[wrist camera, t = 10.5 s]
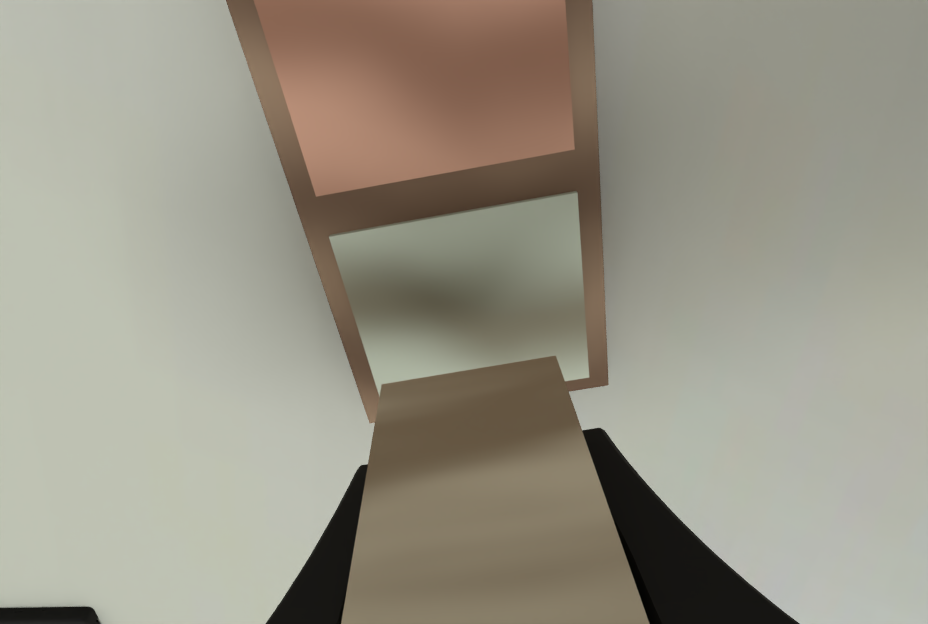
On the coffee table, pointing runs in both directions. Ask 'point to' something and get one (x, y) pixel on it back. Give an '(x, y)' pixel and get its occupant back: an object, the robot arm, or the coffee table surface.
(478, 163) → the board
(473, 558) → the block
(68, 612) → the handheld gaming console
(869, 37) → the coffee table surface
